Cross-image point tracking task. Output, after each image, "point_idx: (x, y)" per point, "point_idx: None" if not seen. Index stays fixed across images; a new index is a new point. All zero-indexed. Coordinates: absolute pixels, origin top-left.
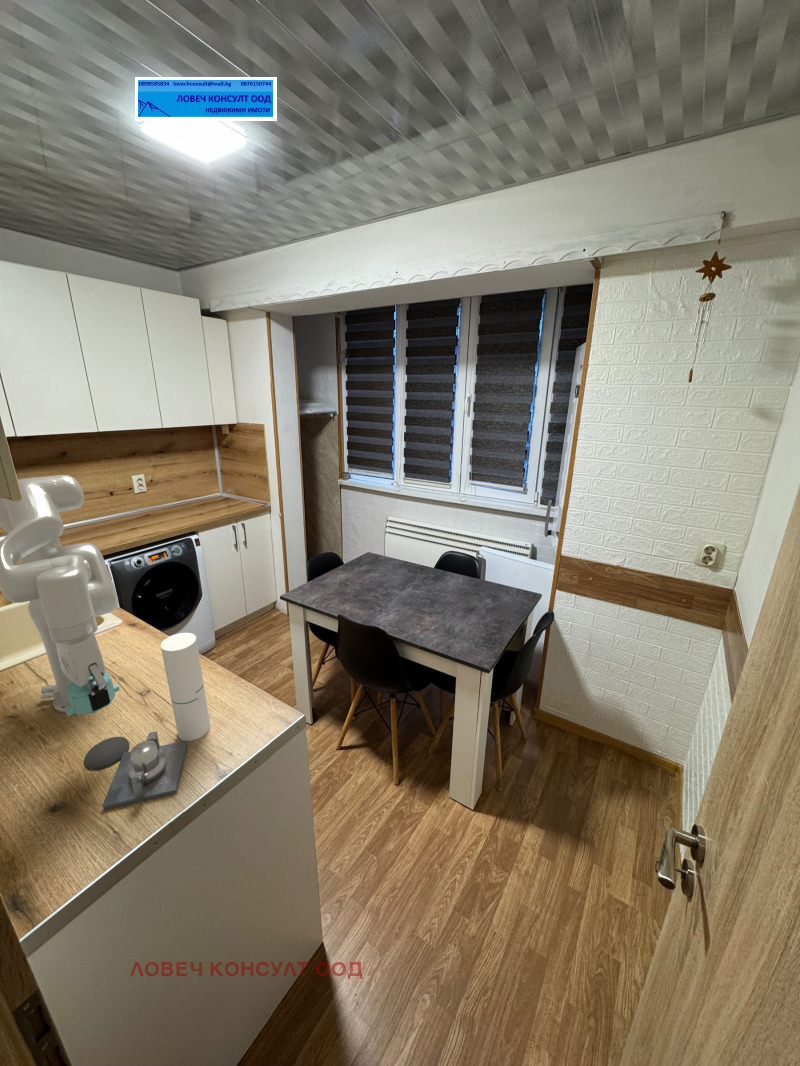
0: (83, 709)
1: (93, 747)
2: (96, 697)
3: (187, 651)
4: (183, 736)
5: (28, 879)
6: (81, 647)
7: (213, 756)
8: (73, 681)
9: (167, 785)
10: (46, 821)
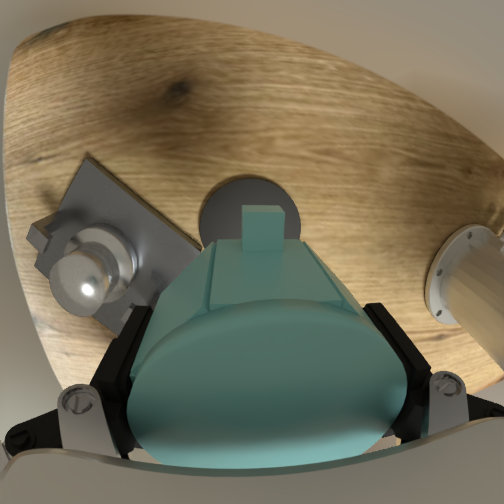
0: (181, 281)
1: (295, 215)
2: (91, 383)
3: None
4: None
5: (71, 38)
6: None
7: (76, 339)
8: (163, 495)
9: (48, 262)
10: (160, 69)
